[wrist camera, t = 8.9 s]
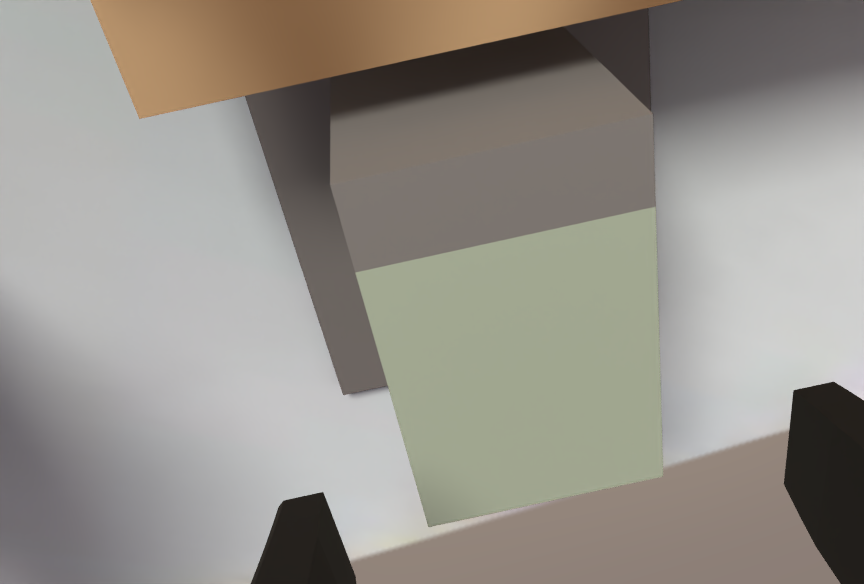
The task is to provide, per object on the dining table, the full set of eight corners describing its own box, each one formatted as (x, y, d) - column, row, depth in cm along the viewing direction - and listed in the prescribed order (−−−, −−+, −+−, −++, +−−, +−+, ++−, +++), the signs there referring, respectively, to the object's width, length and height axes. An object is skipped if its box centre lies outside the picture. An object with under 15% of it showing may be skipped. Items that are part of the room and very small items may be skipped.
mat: (343, 385, 22) (343, 395, 22) (243, 81, 17) (242, 86, 17) (651, 319, 22) (656, 327, 21) (641, -6, 17) (647, -2, 17)
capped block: (405, 353, 21) (428, 527, 16) (330, 69, 17) (329, 184, 12) (583, 315, 21) (663, 476, 16) (555, 19, 17) (652, 114, 12)
